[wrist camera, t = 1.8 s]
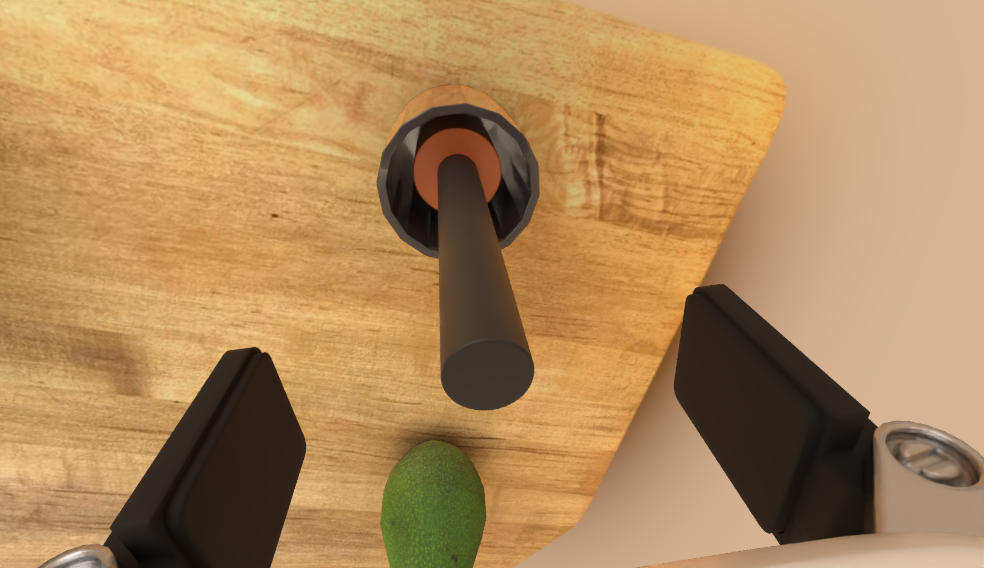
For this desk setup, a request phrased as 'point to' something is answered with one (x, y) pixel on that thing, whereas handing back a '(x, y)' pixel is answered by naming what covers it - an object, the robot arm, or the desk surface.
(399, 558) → the fruit
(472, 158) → the rod with orange collar
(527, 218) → the holder
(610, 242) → the desk surface
